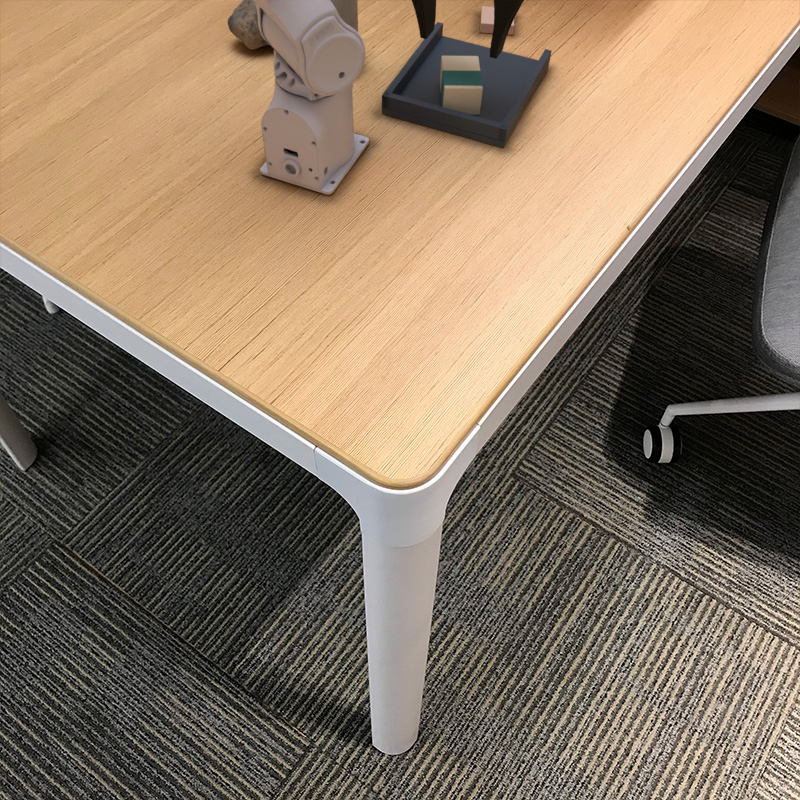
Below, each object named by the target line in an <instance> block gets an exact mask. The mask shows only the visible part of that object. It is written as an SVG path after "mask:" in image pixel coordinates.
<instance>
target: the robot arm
mask: <svg viewBox="0 0 800 800" xmlns="http://www.w3.org/2000/svg"><path fill="white" fill-rule="evenodd" d="M253 1H254V3H255V5H256V8H257V13H258V26H259V30H260V33H261V35H262V37H263V38H264V40H265V41H266V42H267V43H268V44H269V45H268V46H270V47H271V48H273V56H274V61H273V74H274V75H273V76H274V90H273V94H272V95H273V96H272V98H271V101H270V103H269V105H268V107H267V108H266V110H265V112H264V113H263V114H262V118H261V122H260V124H261V125H260V126H261V127H260V128H261V134H262V141H263V147H264V148H263V149H264V155H265V162H264V163H263V165H262V166H261V167H260V168H259V172H260V174H261V175H263V176H266V177H269V178H272V179H275V180H278V181H282V182H285V183H289V184H292V185H295V186H298V187H301V188H305V189H308V190H311V191H314V192H318V193H320V194H324V195H327V196H329V195H332V194H333V193H334V192H335V190H336V189H337V188H338V187H339V185H340V183H341V182H342V181H343V179H344V178H345V177H346V175H347V174H348V173H349V171H350V170H351V169H352V167H353V166H354V164H355V163H356V162H357V160H358V159H359V157H360V156H361V155H362V154H363V152H364V151H365V149H366V148H367V147H368V145H369V144H370V138H369V137H368V136H366V135H361V134H358V133H355V130H354V126H355V125H354V96H353V94H354V93H353V92H354V91H353V88H354V83H355V81H356V80H357V79H358V77H359V75H360V74H361V72H362V70H363V68H364V64H365V61H366V46H365V42H364V40H363V37H362V35H361V34H360V33H359V31H358V32H357V31H356V30H355V29H353V28H352V27H351V26H349V25H348V24H346V23H345V22H344V21H343V20H342V19H341V18H340V16H339V14H338V12H337V10H336V8H335V6H334V5H333V3H332V2H331V0H253ZM524 2H525V0H493V7H494V28H493V33H492V35H491V42H490V47H489V48H490V57H491V58H495V59H496V58H497V57H498V56H499V54H500V53H501V51H503V50H504V47H505V43H506V40H507V37H508V35H507V34H508V32H509V29H510V27H511V24H512V22H513V20H514V21H515V18H516V16H517V15H518V13H519V10H520V9H521V6H522V5H523V3H524ZM411 4H412V6H413V9H414V12H415V16H416V20H417V26H418V30H419V36H420V39H423V40H424V39H427V38H428V37H429V35H430V34H431V33H432V32H433V30H434V26H435V24H436V19H437V17H436V16H437V0H411Z"/></svg>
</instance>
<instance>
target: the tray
mask: <svg viewBox="0 0 800 800" xmlns="http://www.w3.org/2000/svg"><path fill="white" fill-rule="evenodd" d="M443 32H444V23H443V22H439V21H437V22H435V26H434V30H433V32H432V33H431V34H430V35H429V37H428V38H427V39H423V40H422V41H421V43H420V44H419V45H418V47H417V48H416V50H414V52H413V53H412V54H411V56H410V57H409V58H408V59H407V61H406V63H405V64H404V65H403V66H402V68H401V69H400V71H399V72H398V73H397V75H396V76H395V77H394V78H393V80H391V82H390V83H389V85H388V86H387V88H386V89H385V90H384V92H383V93H382V94H381V114H382V115H386V116H389V117H393V118H395V119H396V118H397V119H400V120H403V121H407V122H410V123H413V124H417V125H421V126H425V127H427V128H432V129H435V130H438V131H442V132H445V133H449V134H452V135H456V136H460V137H463V138H467V139H471V140H474V141H478V142H480V143H485V144H488V145H491V146H494V147H495V146H496V147H498V148H502V149H504V148H505V147H506V145H507V143H508V141H509V140H510V138H511V136H512V134H513V132H514V131H515V129H516V127H517V125H518V123H519V122H520V119H521V118H522V116H523V115H524V113H525V111H526V110H527V108H528V106H529V104H530V102H531V100H532V98H533V97H534V95H535V93H536V91H537V90H538V87H539V86H540V84H541V82H542V81H543V79H544V77H545V76H546V73H547V72H548V70H549V67H550V61H551V56H552V50H551V49H548V48H544V50H543V51H542V53H541V55H540V57H539V59H535V58H531V57H528V56H523V55H521V54H520V55H519V54H515V53H511V52H508V51H503V50H502V51H501V53H500V54H499V56H498V57H497V58H496V59H495V58H491V57H490V47H488V46H484V45H481V44H480V45H479V44H476V43H474V42H473V43H472V42H468V41H464V40H460V39H456V38H453V37H449V36H444V35H443ZM442 56H478V58H479V65H480V71H481V75H482V82H483V91H482V99H481V107H480V114H479V115H469V114H466V113H462V112H458V111H455V110H451V109H448V108H444V107H441V98H440V97H441V92H440V70H441V57H442Z"/></svg>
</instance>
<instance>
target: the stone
mask: <svg viewBox="0 0 800 800" xmlns="http://www.w3.org/2000/svg"><path fill="white" fill-rule="evenodd" d="M227 26H228V29H229V31H230V32H231V33H232V34H233V35H234V37H235V38H237V39H239V40H240V41H241V42H242V43H243V45H244V46H245V47H246V48H247V49H249V50H257V49H260V48H262V47H264V46H270V45H269V44H268V43H267V42H266V41H265V40H264V38H263V37H262V35H261V33H260V30H259V26H258V13H257V8H256V5H255V3H254V1H253V0H242V1H241V2H240V3H239V4H238V6H236V7H235V8H234V9H233V12H232V14H231V15H229V17H228V19H227Z"/></svg>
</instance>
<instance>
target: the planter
mask: <svg viewBox="0 0 800 800" xmlns="http://www.w3.org/2000/svg"><path fill="white" fill-rule="evenodd" d="M331 2H332V3H333V5H334V6H335V8H336V10H337V12H338V14H339V16H340V18H341V19H342V20H343V21H344V22H345V23H346V24H348V25H349V26H351V27H352V28H353V29H355V30H356V31H357V32H358V33H359V12H358V10H359V8H358V6H359V5H358V0H331Z"/></svg>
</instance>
